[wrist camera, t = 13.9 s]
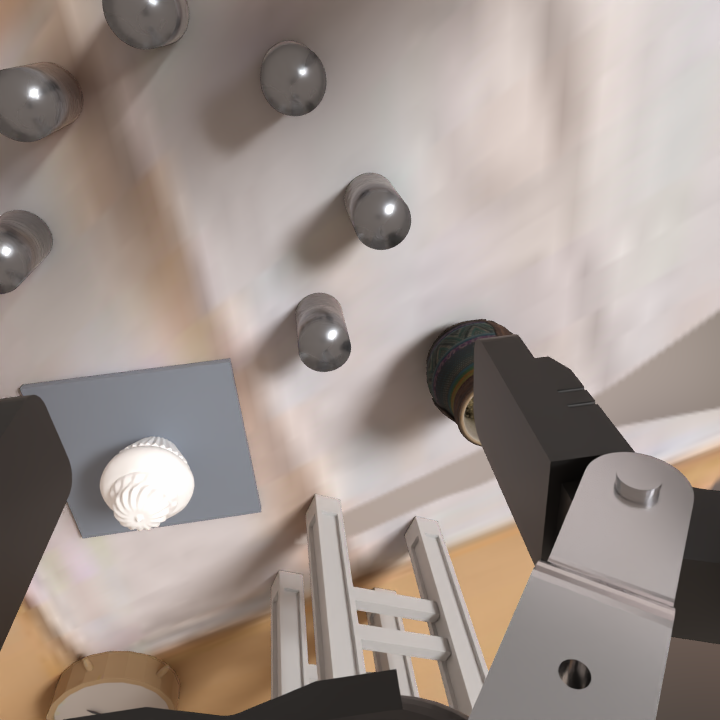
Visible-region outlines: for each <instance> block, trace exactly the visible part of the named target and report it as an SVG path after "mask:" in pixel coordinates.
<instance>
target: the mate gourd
mask: <svg viewBox="0 0 720 720" xmlns="http://www.w3.org/2000/svg"><path fill="white" fill-rule="evenodd" d="M506 335H514V334H513V333H511V332H509V331H508V330H507V329H506V328H505V327H503V326H501V325H499V324H497V323H496V322H494V321H486V319H479V320H477V319H476V320H471V321H465V322H461V323H458V324H456V325H453V326H451V327H450V328H448V329H447V330H445V331H444V332H443V333H442V334H441V335H440V336H439V337H438V338H437V339H436V341H435V342H434V344H433V345H432V347H431V349H430V351H429V353H428V357H427V367H426V368H427V369H426V370H427V372H426V373H427V383H428V387H429V390H430V393H431V395H432V397H433V398H432V400H433V402H434V404H435V405H436V406H437V407H438V409H439V410H440V411H441V412H442V413H443V414H444V415H445V416H447V417H448V418H450V419H451V420H453V421H454V422H455V423H456V424H457V425H458V428H459V430H460V432H461V434H462V435H463V436H464V437H465V438H466V439H467V440H468V441H470V442H471V443H473V444H476V445H478V446H482V445H481V443H480V440H479V438H478V434H477V431H476V426H475V420H474V410H473V398H474V347H475V342H476V340H477V339H483V338H490V337H498V336H506Z"/></svg>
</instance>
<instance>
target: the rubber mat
mask: <svg viewBox="0 0 720 720" xmlns="http://www.w3.org/2000/svg"><path fill="white" fill-rule="evenodd" d="M20 391H21V393H22V395H23V396H26V395H37V396H39V397H40V398H41V399H42V400H43V402H44V403H45V405H46V407H47V410H48V412H49V414H50V417H51V419H52V421H53V424H54V426H55V428H56V431H57V433H58V435H59V437H60V440H61V442H62V444H63V447H64V449H65V451H66V454H67V456H68V458H69V461H70V464H71V469H72V487H71V491H70V494H69V497H68V499H67V502H68V505H69V507H70V509H71V512H72V514H73V516H74V519H75V521H76V524H77V526H78V528H79V531H80V533H81V535H82V538H89V537H96V536H103V535H109V534H116V533H123V532H130V531H136V530H137V529H134V530H130V529H129V528H128V527H124V526H122V525H121V524H120V522H119V521H118V520H117V519H116V518H115V516H114V511H113V510H112V509H110V507H109V506H108V505H107V504H106V502H105V501H104V499H103V497H102V494H101V491H100V479H101V476H102V473H103V471H104V469H105V467H106V466H107V464H108V463H109V462H110V461H111V460H112V459H113V458H114V456H115V455H117V454H119V451H121V450H123V449H125V448H126V447H127V446H129V445H131V444H133V443H135V442H137V441H139V440H141V439H144V438H146V437H148V438H149V437H150V436H151V437H153V436H155V437H158V436H159V437H160V438H164V439H168V441H171V442H172V443H173V444H174V445H175V446H176V447H177V449H178V450H179V451H180V453H181V454H182V455H183V457H184V458H185V459H186V461H187V464H188V465H189V467H190V470H191V472H192V474H193V477H194V491H193V494H192V497H191V499H190V501H189V502H188V504H187V505H186V507H185V508H184V509H183V510H181V511H180V512H179V513H177V514H176V515H174V516H172V517H170V518H168V519H166V521H164V522H161V523H160V525H159V527H164V526H170V525H177V524H184V523H191V522H198V521H204V520H211V519H218V518H225V517H231V516H238V515H245V514H252V513H259V512H261V505H260V500H259V495H258V490H257V486H256V481H255V476H254V471H253V466H252V462H251V457H250V452H249V447H248V442H247V438H246V433H245V428H244V423H243V418H242V414H241V409H240V404H239V399H238V394H237V390H236V385H235V380H234V375H233V370H232V366H231V361H230V359H222V360H214V361H206V362H199V363H191V364H183V365H175V366H167V367H159V368H151V369H144V370H136V371H128V372H120V373H112V374H104V375H96V376H89V377H81V378H73V379H65V380H57V381H49V382H41V383H34V384H26V385H22V386H21V388H20ZM152 528H157V527H152Z"/></svg>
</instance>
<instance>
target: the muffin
mask: <svg viewBox="0 0 720 720" xmlns="http://www.w3.org/2000/svg"><path fill="white" fill-rule="evenodd" d="M100 491H101V494H102V497H103V499H104V501H105V502H106V504H107V505H108V506H109V507H110V509H112V510H113V511H114V516H115V518H116V519H117V520H118V521H119V522H120V524H121V525H122V526H124V527H128V528H129V529H130V530H134V529H137V530H138V531H142V530H143V529H145V530H148V531H149V530H150V529H151V528H152V527H159V525H160V523H161V522H164V521H166V519H168V518H170V517H172V516H174V515H176V514H177V513H179V512H180V511H181V510H183V509H184V508H185V507H186V505H187V504H188V502H189V501H190V499H191V497H192V494H193V491H194V477H193V474H192V472H191V470H190V467H189V465H188V464H187V461H186V459H185V458H184V457H183V455H182V454H181V453H180V451H179V450H178V449H177V447H176V446H175V445H174V444H173V443H172V442H171V441H168V439H164V438H160V437H159V436H158V437H155V436H153V437H151V436H150V437H149V438H148V437H146V438H144V439H141V440H139V441H137V442H135V443H133V444H131V445H129V446H127V447H126V448H125V449H123V450H121V451H119V454H117V455H115V456H114V458H113V459H112V460H111V461H110V462H109V463H108V464H107V466H106V467H105V469H104V471H103V473H102V476H101V479H100Z"/></svg>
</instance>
